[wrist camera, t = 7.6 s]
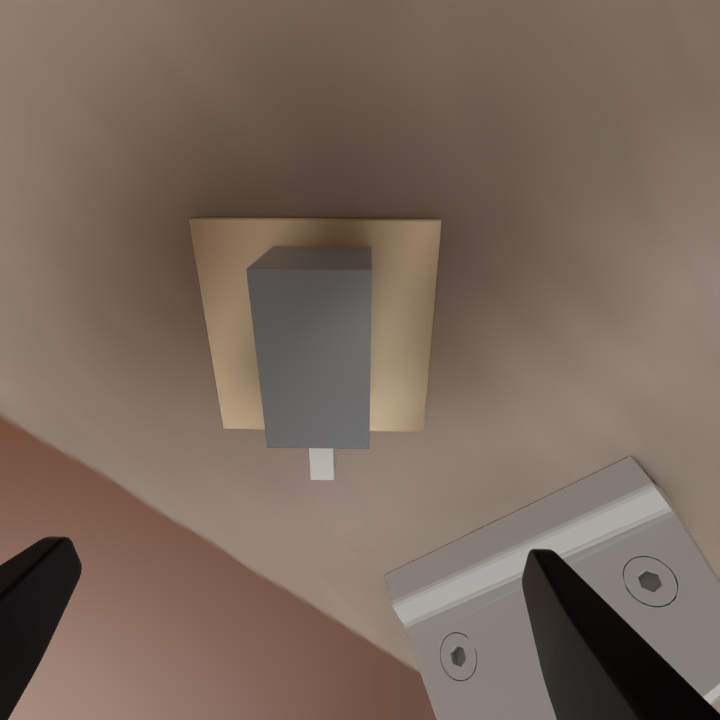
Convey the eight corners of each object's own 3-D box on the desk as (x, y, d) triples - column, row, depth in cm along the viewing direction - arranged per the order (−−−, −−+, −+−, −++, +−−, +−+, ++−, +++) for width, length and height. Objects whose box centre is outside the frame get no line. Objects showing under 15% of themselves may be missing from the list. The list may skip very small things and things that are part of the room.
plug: (272, 246, 17) (371, 246, 17) (289, 435, 21) (368, 436, 21) (246, 269, 13) (372, 270, 13) (272, 492, 17) (368, 494, 17)
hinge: (637, 451, 21) (837, 689, 14) (650, 483, 24) (821, 694, 17) (379, 577, 26) (427, 805, 19) (415, 591, 29) (470, 793, 22)
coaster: (439, 219, 17) (441, 221, 16) (422, 424, 21) (423, 431, 20) (194, 217, 17) (188, 219, 16) (227, 421, 21) (223, 428, 21)
